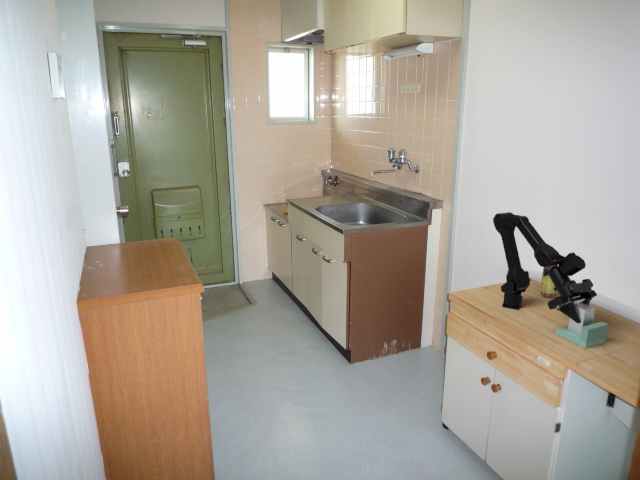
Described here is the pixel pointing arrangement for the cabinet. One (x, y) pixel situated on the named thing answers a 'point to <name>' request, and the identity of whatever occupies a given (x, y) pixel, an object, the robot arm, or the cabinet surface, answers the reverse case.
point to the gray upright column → (581, 318)
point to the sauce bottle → (547, 285)
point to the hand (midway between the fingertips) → (584, 321)
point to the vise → (586, 334)
